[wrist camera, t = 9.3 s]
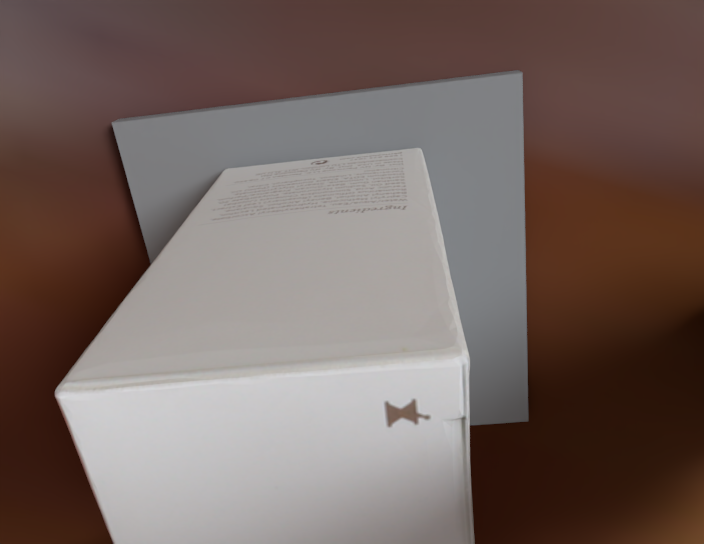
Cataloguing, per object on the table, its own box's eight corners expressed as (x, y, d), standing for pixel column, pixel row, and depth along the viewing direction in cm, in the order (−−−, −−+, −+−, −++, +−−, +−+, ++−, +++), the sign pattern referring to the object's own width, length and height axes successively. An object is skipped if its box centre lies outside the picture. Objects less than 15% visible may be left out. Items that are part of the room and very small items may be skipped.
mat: (518, 69, 17) (522, 72, 16) (525, 411, 21) (528, 421, 21) (118, 119, 18) (111, 122, 18) (204, 434, 22) (200, 444, 22)
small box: (223, 163, 18) (34, 379, 8) (425, 141, 17) (474, 345, 8) (272, 401, 21) (178, 753, 12) (444, 389, 21) (493, 746, 11)
